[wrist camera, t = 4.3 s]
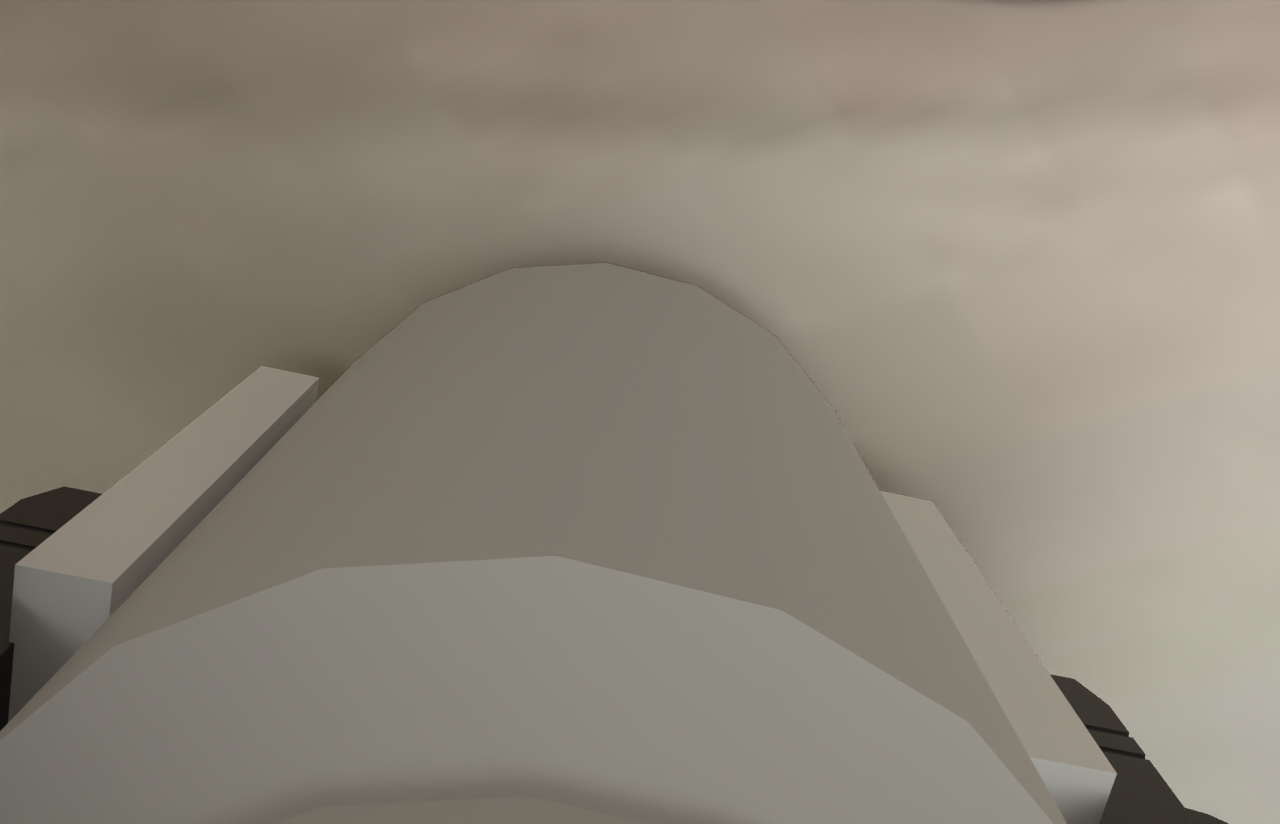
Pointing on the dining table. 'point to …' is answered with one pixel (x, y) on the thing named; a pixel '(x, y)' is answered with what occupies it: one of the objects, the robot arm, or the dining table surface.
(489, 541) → the can
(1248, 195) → the dining table surface
